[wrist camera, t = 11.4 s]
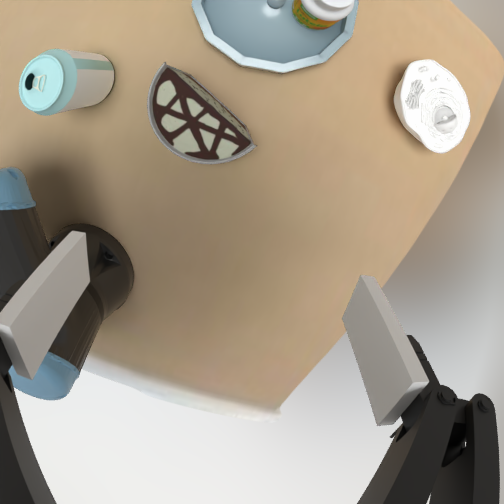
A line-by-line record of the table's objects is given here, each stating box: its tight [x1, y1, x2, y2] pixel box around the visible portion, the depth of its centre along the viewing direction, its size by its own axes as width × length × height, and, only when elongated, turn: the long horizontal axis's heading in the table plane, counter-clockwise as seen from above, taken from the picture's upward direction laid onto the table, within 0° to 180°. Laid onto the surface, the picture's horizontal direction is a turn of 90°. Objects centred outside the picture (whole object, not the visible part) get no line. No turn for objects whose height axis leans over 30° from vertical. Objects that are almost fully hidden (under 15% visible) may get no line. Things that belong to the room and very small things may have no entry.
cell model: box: [394, 60, 470, 153], centre depth 31 cm, size 10×12×7 cm
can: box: [19, 49, 114, 116], centre depth 27 cm, size 7×7×12 cm
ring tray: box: [192, 0, 359, 74], centre depth 27 cm, size 18×18×3 cm
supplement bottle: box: [292, 0, 355, 30], centre depth 24 cm, size 5×5×10 cm
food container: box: [147, 62, 257, 164], centre depth 31 cm, size 12×6×10 cm, turn 44°
